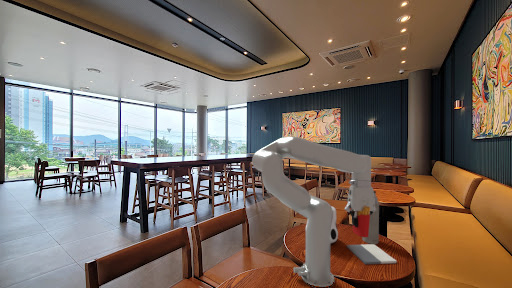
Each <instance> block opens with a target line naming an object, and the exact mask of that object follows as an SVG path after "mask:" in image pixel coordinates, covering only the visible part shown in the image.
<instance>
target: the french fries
mask: <svg viewBox="0 0 512 288" xmlns="http://www.w3.org/2000/svg"><path fill="white" fill-rule="evenodd" d="M369 212H370V207H366V206H364V209H363V211H358V213H357V218H358V227H355V226H354V225H353V224H352V233H354V234H355V235H357V236H358V237H361V238H362V237H368V233H369V221H370V214H369Z"/></svg>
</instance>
